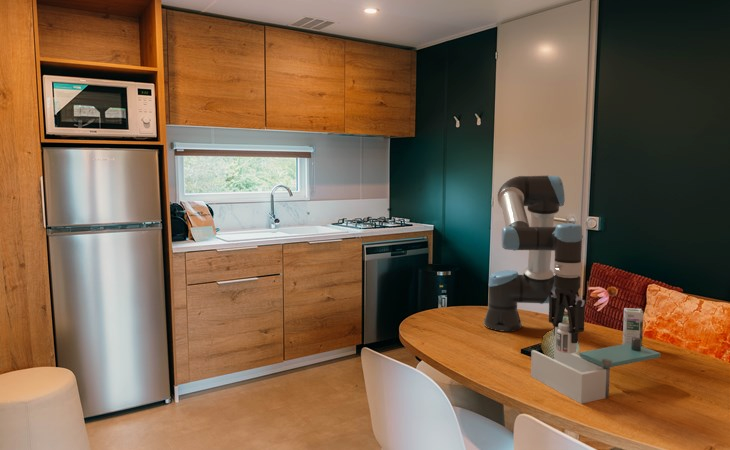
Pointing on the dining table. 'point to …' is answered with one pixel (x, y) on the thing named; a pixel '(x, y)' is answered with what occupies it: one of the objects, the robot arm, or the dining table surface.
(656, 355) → the lid
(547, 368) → the grey planter box
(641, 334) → the syrup box
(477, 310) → the dining table surface
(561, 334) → the pill bottle
